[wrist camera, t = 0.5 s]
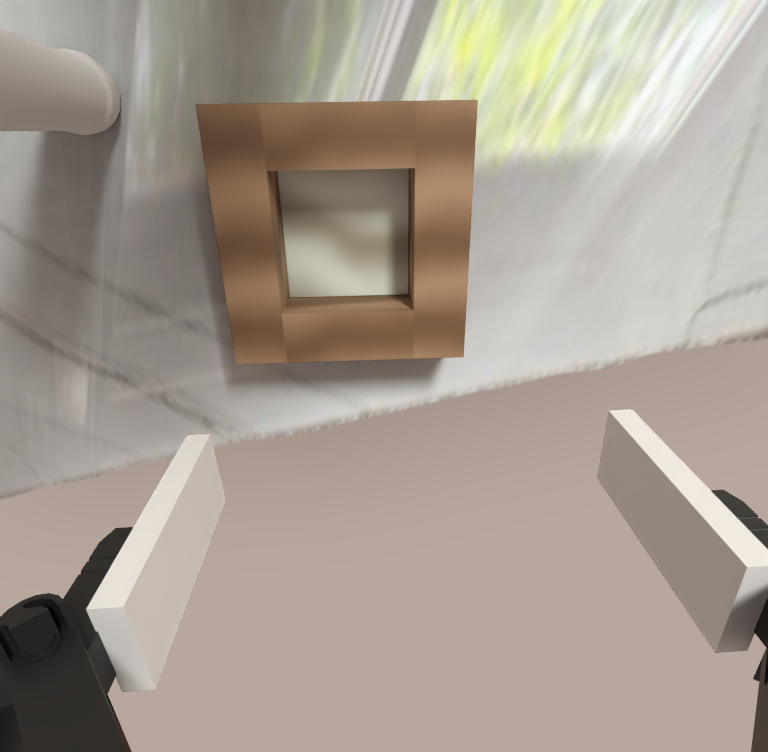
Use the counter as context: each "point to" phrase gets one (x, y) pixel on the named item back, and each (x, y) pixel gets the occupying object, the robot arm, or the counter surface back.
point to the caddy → (342, 226)
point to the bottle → (53, 89)
